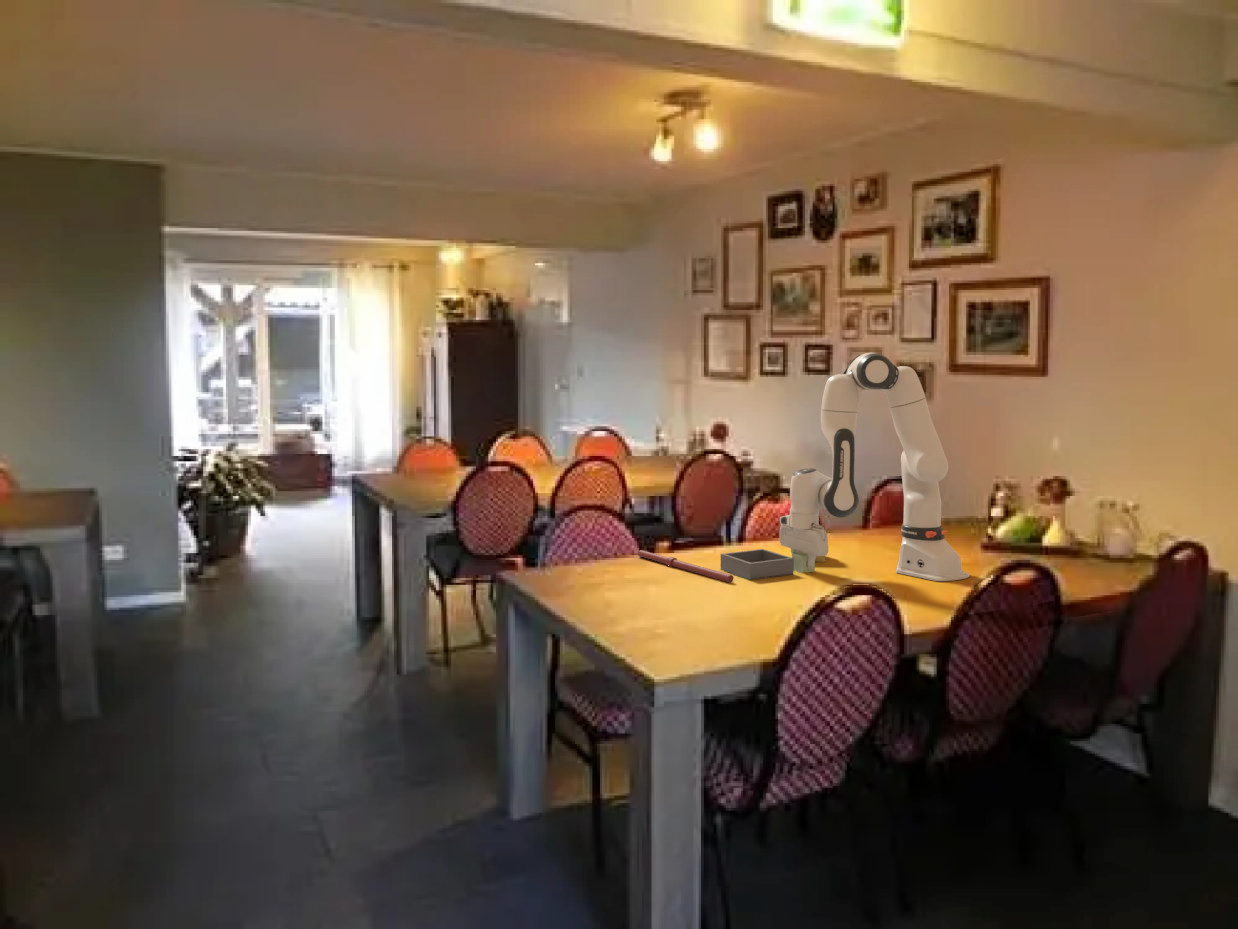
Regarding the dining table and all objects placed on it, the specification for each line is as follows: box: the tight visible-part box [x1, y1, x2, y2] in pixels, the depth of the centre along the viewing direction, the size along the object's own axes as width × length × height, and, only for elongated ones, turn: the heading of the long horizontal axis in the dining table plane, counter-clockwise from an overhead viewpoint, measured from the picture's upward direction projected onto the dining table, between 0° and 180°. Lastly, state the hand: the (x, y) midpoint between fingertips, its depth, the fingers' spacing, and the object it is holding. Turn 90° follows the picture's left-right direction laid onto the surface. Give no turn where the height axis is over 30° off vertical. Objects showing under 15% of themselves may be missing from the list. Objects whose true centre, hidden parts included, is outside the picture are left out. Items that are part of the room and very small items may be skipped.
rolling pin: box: [637, 549, 734, 584], centre depth 314 cm, size 45×3×3 cm, turn 35°
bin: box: [720, 548, 794, 581], centre depth 309 cm, size 16×16×5 cm
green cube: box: [791, 552, 816, 574], centre depth 311 cm, size 5×5×5 cm
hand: (803, 565), depth 311 cm, fingers closed on green cube, 5 cm apart
